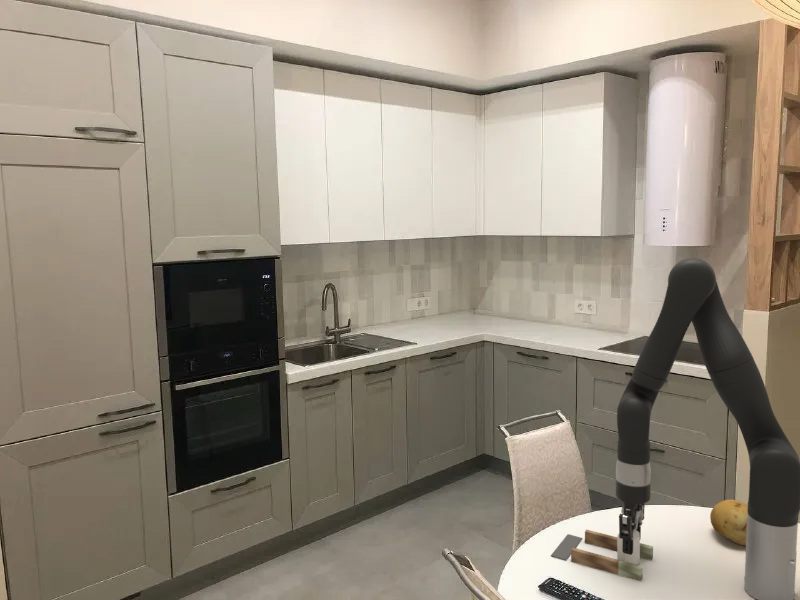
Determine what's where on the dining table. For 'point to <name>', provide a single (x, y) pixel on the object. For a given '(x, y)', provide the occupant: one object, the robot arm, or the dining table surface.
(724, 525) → the potato
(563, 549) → the plate
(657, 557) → the dining table surface
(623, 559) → the eye dropper bottle
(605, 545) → the walnut channel
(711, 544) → the dining table surface
